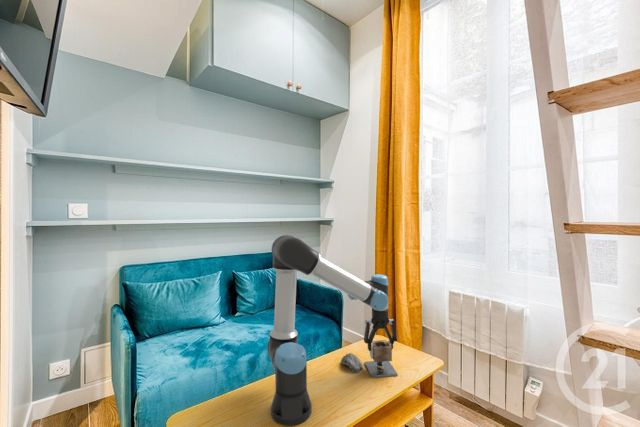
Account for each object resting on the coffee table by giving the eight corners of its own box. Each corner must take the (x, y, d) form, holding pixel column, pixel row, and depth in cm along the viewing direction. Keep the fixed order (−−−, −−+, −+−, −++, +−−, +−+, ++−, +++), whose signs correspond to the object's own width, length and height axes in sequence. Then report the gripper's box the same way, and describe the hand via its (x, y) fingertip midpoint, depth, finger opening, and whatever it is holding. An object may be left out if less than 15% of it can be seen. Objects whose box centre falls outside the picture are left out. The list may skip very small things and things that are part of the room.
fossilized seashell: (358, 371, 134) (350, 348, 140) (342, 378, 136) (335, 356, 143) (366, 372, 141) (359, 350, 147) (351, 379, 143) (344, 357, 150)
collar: (374, 362, 134) (374, 349, 134) (369, 353, 142) (369, 341, 142) (391, 360, 135) (391, 347, 135) (385, 352, 143) (385, 339, 143)
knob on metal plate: (371, 377, 132) (371, 353, 132) (364, 363, 144) (364, 341, 144) (397, 375, 133) (397, 351, 133) (388, 361, 145) (388, 339, 145)
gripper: (360, 312, 133) (360, 362, 134) (404, 309, 135) (405, 358, 136) (356, 306, 140) (356, 354, 141) (398, 304, 143) (398, 351, 143)
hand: (380, 356), depth 138 cm, fingers closed on collar, 8 cm apart
